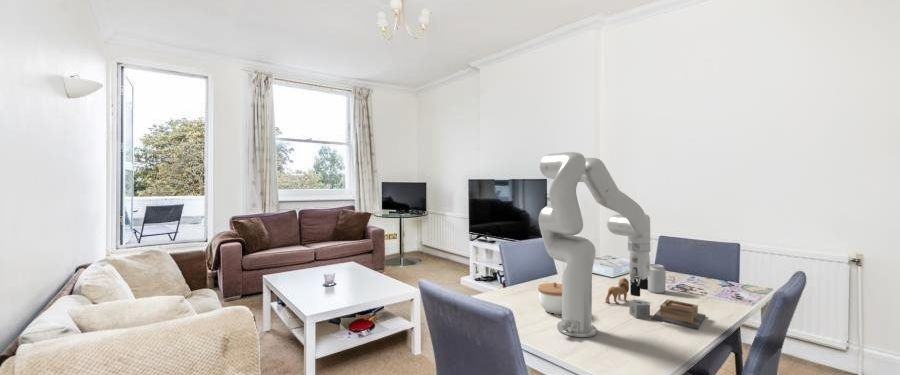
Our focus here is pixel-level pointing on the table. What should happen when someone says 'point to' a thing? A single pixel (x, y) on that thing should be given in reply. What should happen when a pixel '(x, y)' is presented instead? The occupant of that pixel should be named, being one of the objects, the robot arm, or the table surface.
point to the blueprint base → (681, 323)
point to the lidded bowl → (551, 297)
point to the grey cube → (639, 309)
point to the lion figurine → (618, 290)
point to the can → (656, 279)
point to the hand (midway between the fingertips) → (639, 292)
